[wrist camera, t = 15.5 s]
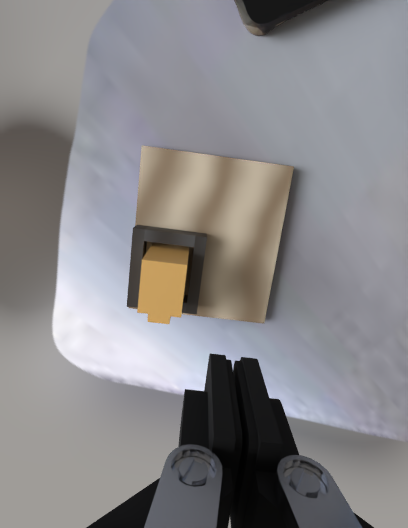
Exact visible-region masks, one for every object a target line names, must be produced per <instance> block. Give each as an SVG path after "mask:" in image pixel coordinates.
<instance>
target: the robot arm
mask: <svg viewBox="0 0 408 528" xmlns="http://www.w3.org/2000/svg"><path fill="white" fill-rule="evenodd" d="M229 517H230V519H231V528H374V527H372V526H371V525H370V524H368V523H367V522H366V521H364V520H363V519H362V518H360V517H359V516H358V515H356V514H355V513H353V511H352V509H351V508H350V506H349V504H348V503H347V501H346V499H345V498H344V496H343V494H342V493H341V491H340V489H339V487H338V486H337V484H336V483H335V481H334V479H333V478H332V476H331V475H330V473H329V472H328V471H327V470H326V469H325V468H324V467H323V466H322V465H321V464H320V463H318V462H316V461H314V460H312V459H311V458H308V457H305V456H301V455H299V453H298V450H297V447H296V444H295V441H294V438H293V435H292V433H291V430H290V427H289V424H288V421H287V418H286V415H285V412H284V409H283V407H282V404H281V402H280V400H279V399H271V398H269V396H268V393H267V389H266V386H265V383H264V379H263V376H262V373H261V369H260V366H259V363H258V360H257V359H254V358H245V357H241V360H240V361H235V363H234V369H232V363H231V360H226V356H225V355H218V354H210V356H209V362H208V369H207V376H206V383H205V390H204V391H196V390H186V389H185V393H184V401H183V410H182V418H181V427H180V437H179V447H178V448H176V449H174V450H173V451H172V452H171V453H170V454H169V456H168V457H167V459H166V462H165V465H164V468H163V471H162V474H161V477H160V478H159V479H157V480H156V481H155V482H153V483H152V484H150V485H149V486H147V487H146V488H144V489H143V490H141V491H140V492H138V493H137V494H135V495H134V496H132V497H131V498H129V499H128V500H127V501H125V502H124V503H122V504H121V505H119V506H118V507H116V508H115V509H113V510H112V511H110V512H109V513H107V514H106V515H104V516H103V517H101V518H100V519H99V520H97V521H96V522H94V523H93V524H91V525H90V526H88V527H87V528H228V523H229Z"/></svg>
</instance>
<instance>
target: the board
mask: <svg viewBox="0 0 408 528" xmlns="http://www.w3.org/2000/svg"><path fill="white" fill-rule="evenodd" d="M293 169H294V167H293V166H285V165H278V164H271V163H264V162H257V161H249V160H242V159H235V158H228V157H221V156H213V155H206V154H199V153H192V152H185V151H177V150H170V149H163V148H156V147H149V146H142V150H141V162H140V174H139V187H138V199H137V211H136V224H135V227H134V228H133V235H132V248H131V261H130V273H129V286H128V298H127V307H129V308H133V309H138V299H139V288H140V276H141V265H142V259H143V257H144V256H145V254H146V253H147V251H148V250H149V248H150V247H151V245H152V244H153V242H155V243H163V244H171V245H179V246H187V247H189V255H188V264H187V272H186V280H185V289H184V297H183V305H182V313H181V314H186V315H195V316H203V317H212V318H221V319H230V320H238V321H247V322H256V323H264V322H265V316H266V311H267V306H268V301H269V295H270V290H271V285H272V279H273V274H274V269H275V264H276V258H277V253H278V248H279V243H280V237H281V232H282V227H283V221H284V216H285V211H286V206H287V200H288V195H289V190H290V185H291V179H292V174H293Z"/></svg>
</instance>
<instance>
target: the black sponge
mask: <svg viewBox="0 0 408 528" xmlns="http://www.w3.org/2000/svg"><path fill="white" fill-rule="evenodd" d="M234 1H235V3H236V5H237V8H238V11H239V14H240V16H241V19H242V21H243V24H244V25H245V27H246V28H247V29H248V30H249V32H251V33H252V34H254V35H258V36H259V35H265V34H266V33H268V32H269V31H270V30H272V29H273V28H274V27H276V26H278V25H279V24H281V23H283V22H284V21H286V20H289V19H291V18H292V17H295V16H297V15H298V14H301V13H303V12H304V11H307V10H309V9H311V8H313V7H316V6H317V5H319V4H322V3H323V2H325V1H327V0H234Z"/></svg>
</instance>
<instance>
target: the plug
mask: <svg viewBox="0 0 408 528" xmlns="http://www.w3.org/2000/svg"><path fill="white" fill-rule="evenodd" d="M188 255H189V247H187V246H179V245H171V244H163V243H155V242H153V244H152V245H151V247H150V248H149V250H148V251H147V253H146V254H145V256H144V257H143V259H142V265H141V276H140V288H139V299H138V311H137V312H138V313H147V314H148V322H155V323H164V324H169V323H170V317H171V316H173V317H181V313H182V305H183V297H184V289H185V280H186V272H187V264H188Z"/></svg>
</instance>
